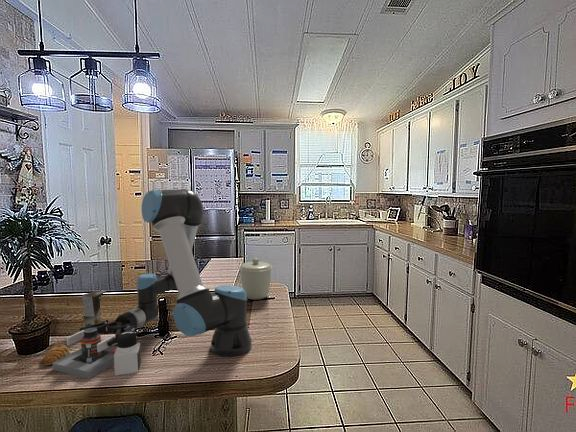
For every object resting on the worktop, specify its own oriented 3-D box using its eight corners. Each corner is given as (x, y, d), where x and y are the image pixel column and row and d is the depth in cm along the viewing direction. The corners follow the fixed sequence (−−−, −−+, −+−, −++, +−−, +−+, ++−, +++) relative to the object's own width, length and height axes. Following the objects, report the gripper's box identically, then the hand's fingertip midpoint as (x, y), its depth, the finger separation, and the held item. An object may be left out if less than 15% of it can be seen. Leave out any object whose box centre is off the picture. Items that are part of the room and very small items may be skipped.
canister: (272, 302, 179) (272, 262, 177) (237, 302, 179) (236, 262, 177) (273, 291, 197) (273, 254, 195) (241, 291, 197) (240, 254, 195)
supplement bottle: (93, 366, 117) (91, 334, 116) (77, 364, 118) (75, 332, 117) (105, 358, 123) (104, 327, 121) (91, 356, 124) (89, 325, 123)
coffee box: (96, 335, 141) (94, 296, 140) (83, 333, 143) (81, 295, 141) (113, 326, 150) (111, 289, 148) (101, 324, 152) (99, 288, 150)
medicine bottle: (138, 372, 114) (137, 337, 113) (114, 376, 112) (112, 340, 111) (141, 361, 121) (139, 328, 119) (118, 365, 119) (116, 331, 117)
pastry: (60, 365, 118) (59, 355, 118) (37, 368, 117) (36, 357, 117) (70, 352, 128) (70, 342, 127) (50, 354, 126) (49, 344, 126)
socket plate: (128, 355, 125) (127, 346, 125) (89, 379, 110) (88, 369, 110) (94, 348, 130) (93, 339, 130) (53, 370, 115) (52, 360, 115)
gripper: (156, 334, 133) (112, 362, 113) (106, 325, 141) (56, 349, 121) (156, 315, 132) (110, 339, 112) (105, 307, 140) (54, 328, 120)
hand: (82, 345), depth 116 cm, fingers open, 13 cm apart
